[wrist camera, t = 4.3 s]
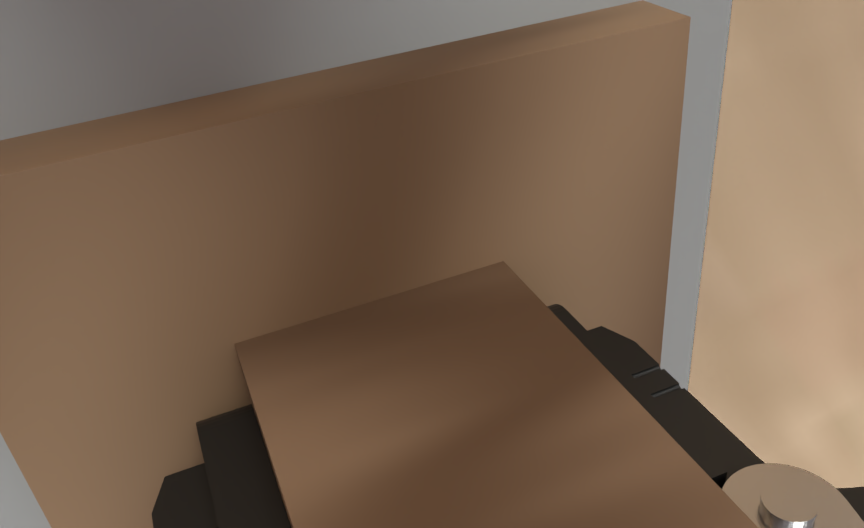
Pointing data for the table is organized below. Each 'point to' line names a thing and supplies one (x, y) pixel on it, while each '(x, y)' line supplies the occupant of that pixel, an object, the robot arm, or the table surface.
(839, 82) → the table surface
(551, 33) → the lid
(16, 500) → the mat
